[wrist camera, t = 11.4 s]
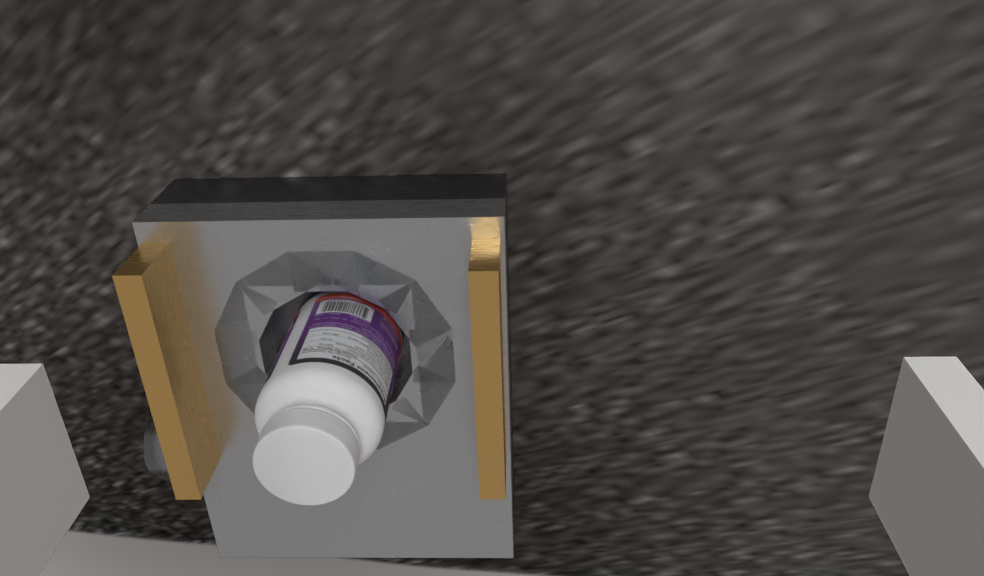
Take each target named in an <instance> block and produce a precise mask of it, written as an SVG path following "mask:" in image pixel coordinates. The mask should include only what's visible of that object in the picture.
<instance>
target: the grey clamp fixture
mask: <svg viewBox="0 0 984 576" xmlns="http://www.w3.org/2000/svg"><path fill="white" fill-rule="evenodd" d="M132 225H133V228H134V232H135V236H136V240H137V244H138V248H137V249H136V250H135V251H134V252H133V254H132V255H131V256H130V257H129V258H128V259H127V260H126V261H125V262H124V263H123V264H122V266H121V267H120V268H119V269H118V270H117V271H116V272H115V273H114V274H113V275H112V277H113V281H114V284H115V288H116V291H117V295H118V298H119V302H120V305H121V309H122V312H123V316H124V319H125V323H126V326H127V330H128V333H129V337H130V340H131V344H132V347H133V351H134V354H135V358H136V361H137V365H138V368H139V372H140V375H141V379H142V382H143V386H144V389H145V393H146V396H147V400H148V403H149V407H150V410H151V416H150V418H149V420H148V423H147V426H146V429H145V435H144V459H145V463H146V466H147V468H148V470H149V472H150V473H151V474H152V475H155V476H169V477H170V480H171V484H172V487H173V491H174V494H175V498H176V500H201V498H202V496H203V494H204V498H205V502H206V506H207V510H208V513H209V517H210V521H211V525H212V528H213V532H214V536H215V540H216V544H217V547H218V551H219V555H220V557H321V558H513V544H514V465H513V423H512V382H511V341H510V299H509V258H508V217H507V175H506V174H458V175H400V176H343V177H286V178H229V179H175V180H174V181H173V182H172V183H171V184H170V185H169V186H168V187H167V188H166V189H165V190H164V191H163V192H162V193H161V194H160V195H159V196H158V197H157V198H156V199H155V200H154V201H153V202H152V203H151V204H150V205H149V206H148V207H147V208H146V209H145V210H144V211H143V212H142V213H141V214H140V215H139V216H138V217H137V218H136V219H135V220H134V221H133V222H132ZM325 291H348V292H350V293H352V294H355V295H357V296H359V297H361V298H363V299H365V300H367V301H370V302H372V303H374V304H376V305H378V306H380V307H383V308H385V309H386V310H387V311H388V312H389V314H390V315H391V316H392V318H393V319H394V320H395V321H396V323H397V324H398V325H399V327H400V328H401V331H402V339H403V343H402V350H401V356H400V360H399V365H398V369H397V373H396V377H395V381H394V386H393V390H392V394H391V399H390V404H389V408H388V413H387V418H386V423H385V428H384V432H383V435H382V438H381V441H380V443H379V445H378V447H377V448H376V450H375V451H374V452H373V454H372V455H371V456H370V457H369V458H367V459H366V460H365V461H364V462H363V463H361V464H360V465H358V468H357V471H356V474H355V478H354V480H353V483H352V485H351V486H350V488H349V489H348V490H347V492H346V493H345V494H344V495H342V496H341V497H339V498H338V499H336V500H334V501H331V502H328V503H325V504H320V505H299V504H295V503H291V502H288V501H285V500H283V499H280V498H278V497H277V496H275V495H273V494H272V493H270V492H269V491H268V490H267V489H266V488H265V487H264V486H263V485H262V484H261V483H260V481H259V480H258V478H257V476H256V474H255V472H254V468H253V453H254V449H255V447H256V444H257V441H258V438H259V434H258V432H257V428H256V424H255V406H256V402H257V399H258V396H259V394H260V391H261V389H262V387H263V385H264V383H265V380H266V378H267V376H268V374H269V372H270V370H271V367H272V365H273V363H274V361H275V359H276V357H277V355H278V352H279V350H280V348H281V346H282V344H283V341H284V339H285V337H286V335H287V333H288V330H289V328H290V326H291V324H292V321H293V320H294V318H295V316H296V314H297V313H298V311H299V310H300V308H301V307H302V306H303V305H304V304H305V303H306V302H307V301H308V300H309V299H311V298H312V297H314V296H315V295H317V294H319V293H322V292H325Z"/></svg>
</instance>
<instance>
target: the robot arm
mask: <svg viewBox="0 0 984 576" xmlns="http://www.w3.org/2000/svg"><path fill="white" fill-rule="evenodd" d="M89 498H90V496H89V493H88V491H87V488H86V485H85V482H84V479H83V476H82V474H81V471H80V468H79V465H78V462H77V459H76V457H75V454H74V451H73V448H72V445H71V442H70V439H69V437H68V434H67V431H66V428H65V425H64V422H63V420H62V417H61V414H60V411H59V408H58V405H57V402H56V400H55V397H54V394H53V391H52V388H51V385H50V383H49V380H48V377H47V374H46V371H45V368H44V365H43V364H0V576H39V575H40V573H41V571H42V570H43V569H44V567H45V565H46V564H47V562H48V561H49V559H50V557H51V556H52V555H53V553H54V552H55V550H56V548H57V547H58V545H59V544H60V542H61V541H62V539H63V537H64V536H65V535H66V533H67V532H68V530H69V528H70V527H71V525H72V524H73V522H74V521H75V519H76V518H77V516H78V515H79V513H80V512H81V510H82V508H83V507H84V505H85V504H86V502H87V501H88V499H89ZM869 498H870V500H871V502H872V504H873V506H874V508H875V510H876V512H877V514H878V516H879V518H880V519H881V521H882V523H883V525H884V527H885V529H886V531H887V533H888V535H889V537H890V539H891V541H892V543H893V545H894V547H895V548H896V550H897V552H898V554H899V556H900V558H901V560H902V562H903V564H904V566H905V568H906V570H907V572H908V574H909V575H910V576H984V390H983V389H982V387H981V386H980V385H979V384H978V382H977V381H976V380H975V379H974V378H973V376H972V375H971V374H970V373H969V372H968V370H967V369H966V368H965V367H964V365H963V364H962V363H961V362H960V361H959V359H958V358H957V357H904V358H903V362H902V366H901V370H900V374H899V378H898V382H897V386H896V390H895V394H894V398H893V402H892V406H891V410H890V414H889V418H888V422H887V426H886V430H885V434H884V438H883V442H882V446H881V450H880V454H879V458H878V462H877V466H876V470H875V474H874V478H873V482H872V486H871V490H870V494H869Z"/></svg>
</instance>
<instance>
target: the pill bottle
mask: <svg viewBox="0 0 984 576" xmlns="http://www.w3.org/2000/svg"><path fill="white" fill-rule="evenodd" d="M402 343H403V339H402V331H401V328H400V327H399V325H398V324H397V323H396V321H395V320H394V319H393V318H392V316H391V315H390V314H389V312H388V311H387V310H386V309H385V308H383V307H380V306H378V305H376V304H374V303H372V302H370V301H367V300H365V299H363V298H361V297H359V296H357V295H355V294H352V293H350V292H348V291H325V292H322V293H319V294H317V295H315V296H314V297H312V298H311V299H309V300H308V301H307V302H306V303H305V304H304V305H303V306H302V307H301V308H300V310H299V311H298V313H297V314H296V316H295V318H294V320H293V321H292V324H291V326H290V328H289V330H288V333H287V335H286V337H285V339H284V341H283V344H282V346H281V348H280V350H279V352H278V355H277V357H276V359H275V361H274V363H273V365H272V367H271V370H270V372H269V374H268V376H267V378H266V380H265V383H264V385H263V387H262V389H261V391H260V394H259V396H258V399H257V402H256V406H255V424H256V428H257V432H258V434H259V438H258V441H257V444H256V447H255V449H254V453H253V468H254V472H255V474H256V476H257V478H258V480H259V481H260V483H261V484H262V485H263V486H264V487H265V488H266V489H267V490H268V491H269V492H270V493H272V494H273V495H275V496H277V497H278V498H280V499H283V500H285V501H288V502H291V503H295V504H299V505H320V504H325V503H328V502H331V501H334V500H336V499H338V498H339V497H341V496H342V495H344V494H345V493H346V492H347V490H348V489H349V488H350V486H351V485H352V483H353V480H354V478H355V474H356V471H357V468H358V465H360V464H361V463H363V462H364V461H365V460H366V459H367V458H369V457H370V456H371V455H372V454H373V452H374V451H375V450H376V448H377V447H378V445H379V443H380V441H381V438H382V435H383V432H384V428H385V423H386V418H387V413H388V408H389V404H390V399H391V394H392V390H393V386H394V381H395V377H396V373H397V369H398V365H399V360H400V356H401V350H402Z"/></svg>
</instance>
